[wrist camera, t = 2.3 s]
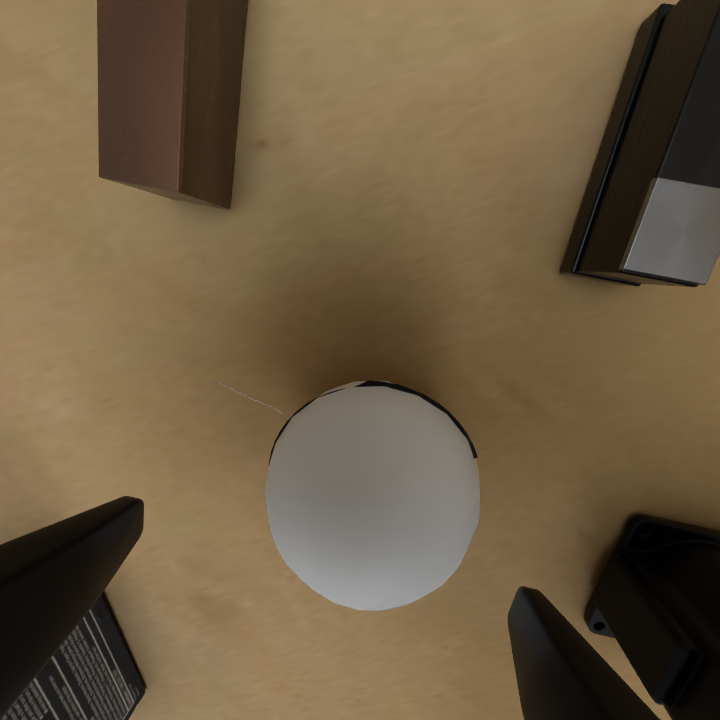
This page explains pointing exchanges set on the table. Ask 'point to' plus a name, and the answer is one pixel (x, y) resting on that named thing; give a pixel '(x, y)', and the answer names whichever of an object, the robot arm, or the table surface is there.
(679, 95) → the stapler
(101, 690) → the small box
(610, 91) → the table surface
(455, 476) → the seamed sphere
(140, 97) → the brown rectangular block
